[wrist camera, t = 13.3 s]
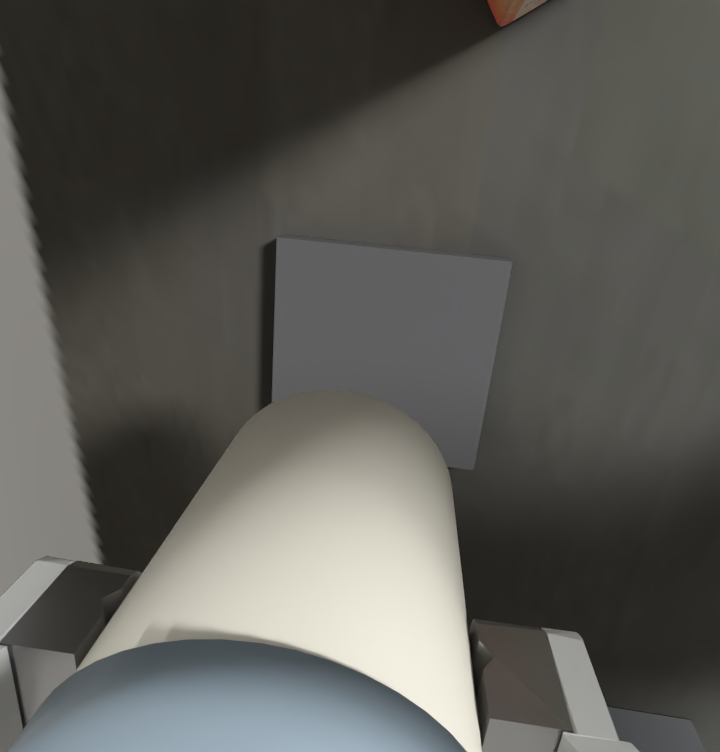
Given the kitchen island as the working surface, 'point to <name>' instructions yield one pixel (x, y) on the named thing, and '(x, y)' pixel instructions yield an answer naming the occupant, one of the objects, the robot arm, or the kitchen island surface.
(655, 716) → the housing
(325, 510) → the cartridge
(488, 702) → the robot arm
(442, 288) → the pad
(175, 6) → the kitchen island surface
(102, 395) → the kitchen island surface
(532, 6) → the cracker box
